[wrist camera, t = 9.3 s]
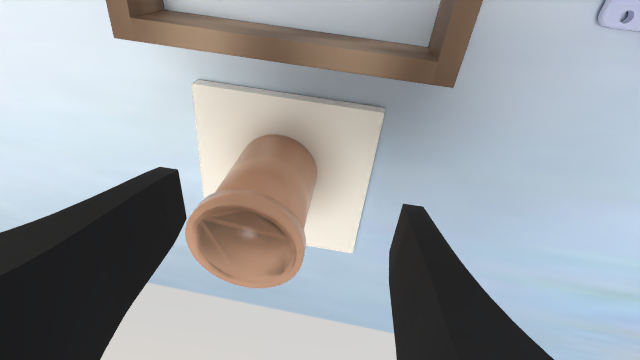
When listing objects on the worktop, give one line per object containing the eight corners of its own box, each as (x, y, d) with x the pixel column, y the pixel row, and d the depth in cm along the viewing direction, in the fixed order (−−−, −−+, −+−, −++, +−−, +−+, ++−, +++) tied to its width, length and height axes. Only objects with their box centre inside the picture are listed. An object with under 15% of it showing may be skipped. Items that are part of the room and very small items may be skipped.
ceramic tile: (384, 107, 19) (384, 113, 18) (352, 245, 25) (352, 253, 25) (197, 79, 20) (191, 83, 19) (211, 221, 26) (206, 228, 25)
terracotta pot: (319, 129, 19) (296, 200, 14) (324, 206, 22) (308, 291, 17) (227, 130, 20) (169, 197, 14) (244, 204, 23) (202, 284, 17)
